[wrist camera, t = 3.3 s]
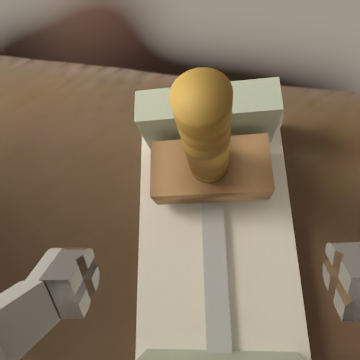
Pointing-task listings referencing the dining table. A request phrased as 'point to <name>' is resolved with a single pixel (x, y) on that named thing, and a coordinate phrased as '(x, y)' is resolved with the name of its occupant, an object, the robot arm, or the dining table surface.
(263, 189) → the carriage
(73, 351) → the dining table surface
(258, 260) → the track
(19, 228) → the dining table surface
